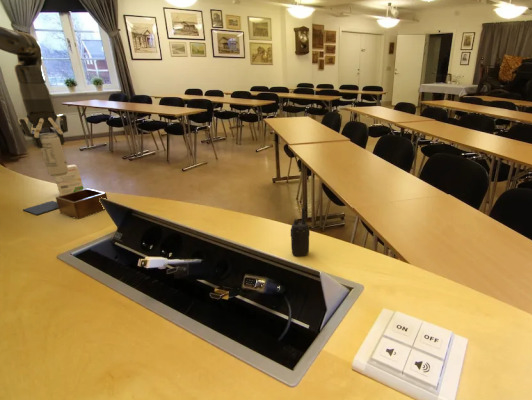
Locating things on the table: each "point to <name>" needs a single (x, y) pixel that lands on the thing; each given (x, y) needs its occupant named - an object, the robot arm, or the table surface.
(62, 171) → the energy drink can
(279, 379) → the table surface
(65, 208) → the brown wooden box
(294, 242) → the two-way radio
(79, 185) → the ink box
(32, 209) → the coaster
